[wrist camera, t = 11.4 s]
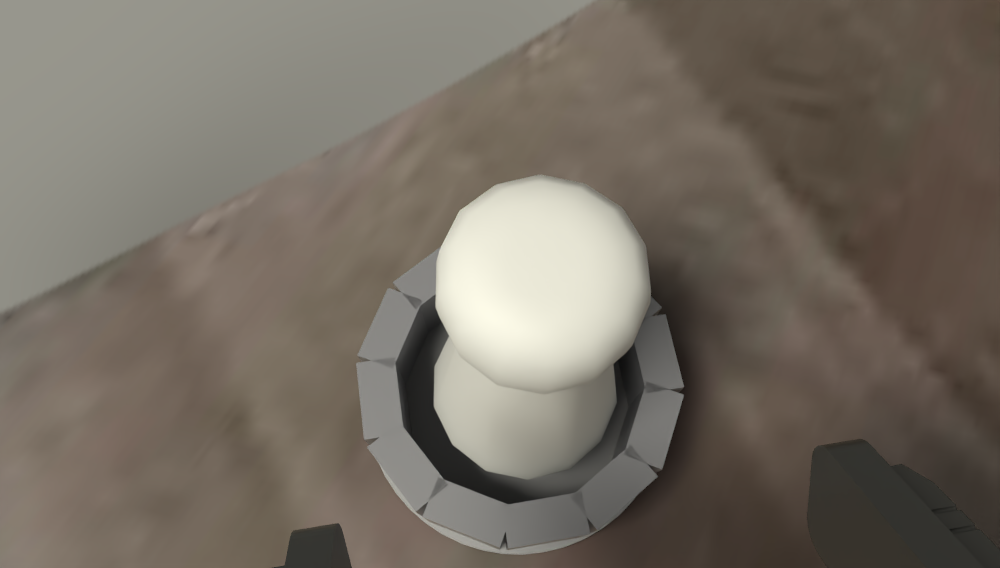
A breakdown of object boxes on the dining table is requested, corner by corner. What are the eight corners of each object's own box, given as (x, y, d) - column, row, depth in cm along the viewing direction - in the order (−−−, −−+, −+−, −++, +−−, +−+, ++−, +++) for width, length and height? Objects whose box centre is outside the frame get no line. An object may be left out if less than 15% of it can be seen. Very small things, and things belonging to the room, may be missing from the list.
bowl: (627, 243, 29) (644, 201, 26) (696, 525, 25) (726, 519, 22) (354, 284, 28) (336, 247, 25) (386, 580, 25) (370, 582, 21)
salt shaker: (482, 295, 28) (473, 81, 15) (629, 359, 27) (743, 186, 15) (409, 443, 26) (334, 333, 13) (565, 516, 25) (635, 470, 13)
